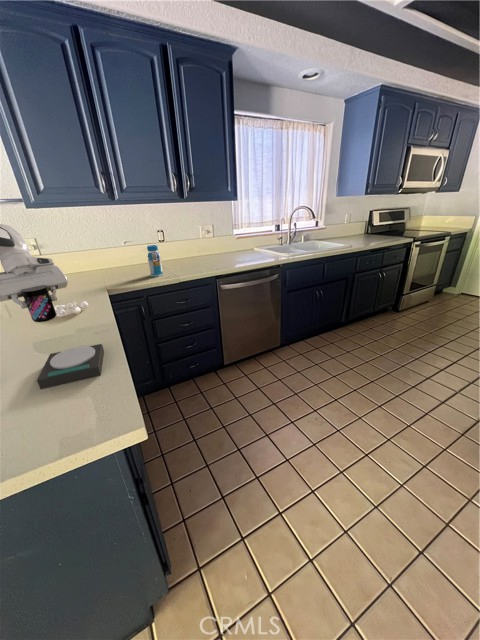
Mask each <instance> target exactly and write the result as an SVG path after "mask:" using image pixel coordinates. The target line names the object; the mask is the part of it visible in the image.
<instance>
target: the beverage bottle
mask: <svg viewBox="0 0 480 640" xmlns="http://www.w3.org/2000/svg"><path fill="white" fill-rule="evenodd" d="M146 249H147V258H148V259H147V262H148V267H149V272H150V276H151V277H161V276H163V275H164V271H163V265H162V259H161V254H160V252H159V246H158V245H157V244H151V245H147V247H146Z"/></svg>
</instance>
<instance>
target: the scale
mask: <svg viewBox="0 0 480 640" xmlns="http://www.w3.org/2000/svg"><path fill="white" fill-rule="evenodd" d="M104 355H105V349H104V345H103V343H99V344H93V345H80V346H75V347H71V348H68V349H65V350H62V351H57V352H52V353H49V355H48V358H47V359H46V361H45V363H44V365H43V367H42V369H41V371H40V373H39V375H38V377H37V379H36V382H37V384H38V386H39V389H40V390H43V389H47V388H52V387H56V386H61V385H65V384H69V383H73V382H77V381H82V380H83V381H84V380H87V379H91V378H95V377H100V376H101V375H102V369H103V363H104Z"/></svg>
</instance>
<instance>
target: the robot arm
mask: <svg viewBox="0 0 480 640" xmlns="http://www.w3.org/2000/svg"><path fill="white" fill-rule="evenodd" d="M0 265H1V267H2V269H3V271H1V272H0V303H1V302H6V301H11V300H12V302H14V303H15V304H17V305H19V306H20V308H21V310H24V309H28V307H27V304H26V302H25V300H20V299H21V298H24V297H23V296H22V293H21V290H22V289H27V288H32V287H36V286H41V285H46V286H47V288H48V291H49V292H50V297H51V300H52V303H53V302H57V301H58V298H57V295H56V294H57V290H60V289H61V290H62V289H66V288H67V287H68V283H69V280H68V278H67V276H66V275H65V273H64V272H63V270H62V269H61V268H60V267H59V266H57V265H55V262H54V260H53V259H52V258H50V257H37V256H33V255H32V254H31V253H30V247H29V246H28V244H27V243H26V241H25V239H24V237H22V235H21V234H20V233H19V232H18V231H17V229H15V228H14V227H12V226H10V225H8V224H3V223H0Z"/></svg>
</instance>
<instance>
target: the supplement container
mask: <svg viewBox="0 0 480 640" xmlns="http://www.w3.org/2000/svg"><path fill="white" fill-rule="evenodd" d="M21 293H22V296H23V297H22V298H23V301H25V302H26V304H27V307H28V308H27V310H28V312H29V315H30V317H31V320H32V321H33V322H35V323H46V322H49V321H52V320H54V319H55V318H56V317H57V316H56V315H57V314H56V311H55V308H54V307H55V305H54V304H53V302H52V300H51V297H50V295H51V293H50V291H48V288H47V286H46V285H41V286H36V287H32V288H27V289H22V290H21Z"/></svg>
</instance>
